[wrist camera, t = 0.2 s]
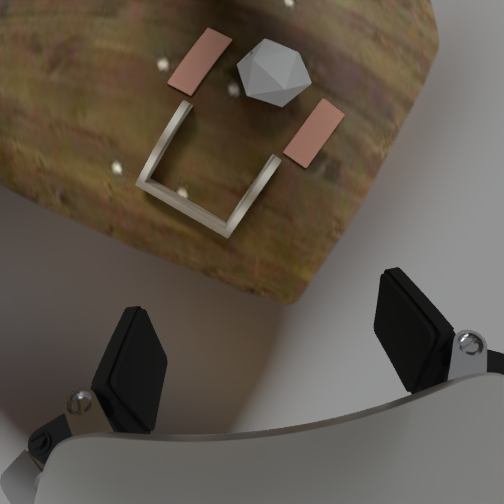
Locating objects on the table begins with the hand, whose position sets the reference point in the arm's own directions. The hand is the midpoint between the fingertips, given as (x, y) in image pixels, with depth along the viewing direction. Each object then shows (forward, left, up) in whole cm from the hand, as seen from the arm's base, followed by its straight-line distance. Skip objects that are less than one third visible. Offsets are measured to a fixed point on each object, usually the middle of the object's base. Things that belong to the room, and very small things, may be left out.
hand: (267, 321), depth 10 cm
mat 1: (-11, -14, -31) cm, 36 cm away
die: (-14, -5, -31) cm, 34 cm away
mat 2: (-11, +5, -31) cm, 33 cm away
